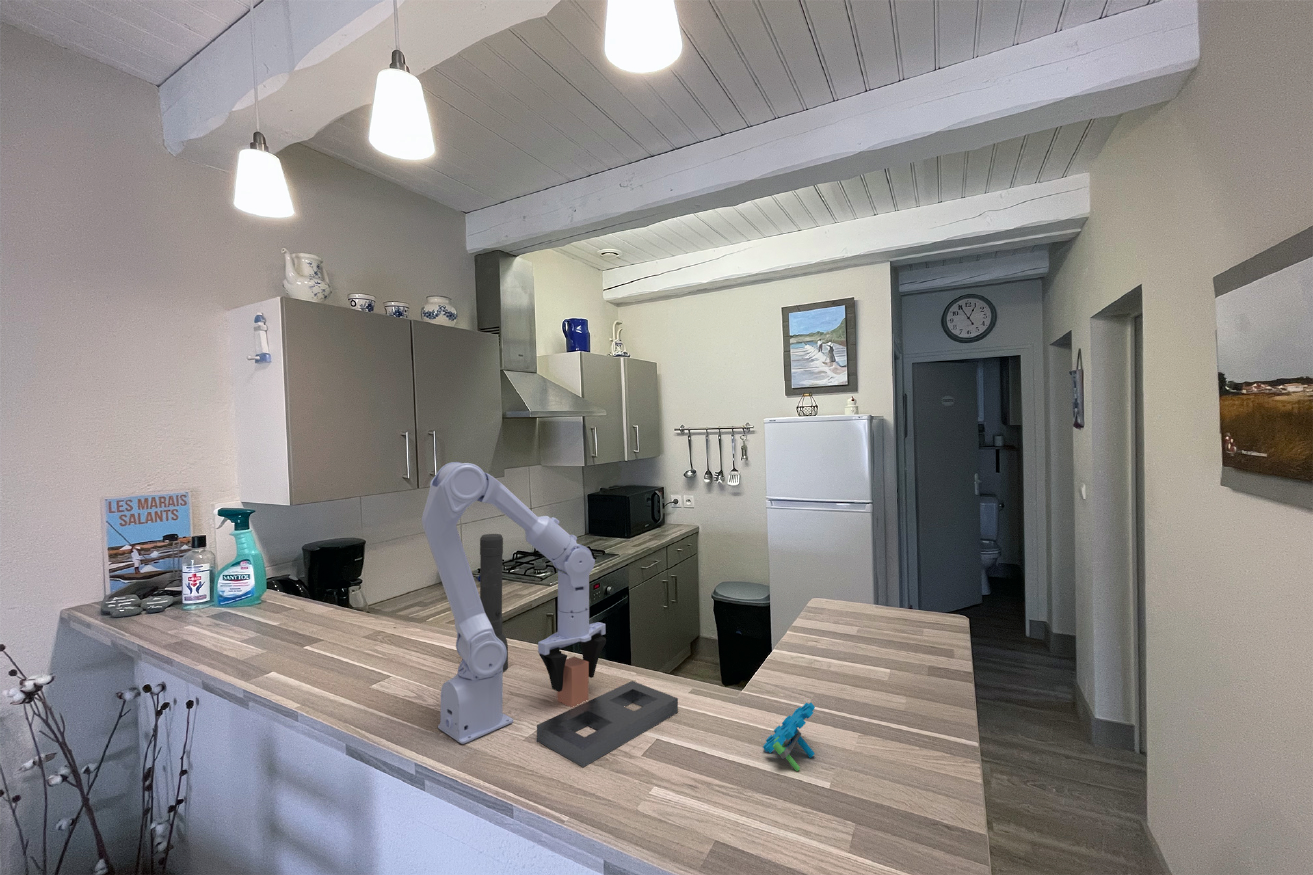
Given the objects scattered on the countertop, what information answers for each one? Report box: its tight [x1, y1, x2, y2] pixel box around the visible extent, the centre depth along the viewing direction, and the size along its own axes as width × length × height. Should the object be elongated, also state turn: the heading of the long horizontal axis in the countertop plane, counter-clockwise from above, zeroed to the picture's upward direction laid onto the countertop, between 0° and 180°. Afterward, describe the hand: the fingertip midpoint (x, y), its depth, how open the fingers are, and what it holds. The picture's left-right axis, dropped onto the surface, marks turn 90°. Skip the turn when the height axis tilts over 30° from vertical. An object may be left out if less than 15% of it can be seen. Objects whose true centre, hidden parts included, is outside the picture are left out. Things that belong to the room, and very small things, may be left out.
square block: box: [556, 656, 590, 708], centre depth 101 cm, size 4×4×7 cm
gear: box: [762, 702, 816, 772], centre depth 83 cm, size 11×6×10 cm
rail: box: [536, 680, 679, 768], centre depth 92 cm, size 22×11×2 cm, turn 139°
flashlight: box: [479, 533, 509, 673], centre depth 115 cm, size 7×28×7 cm
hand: (573, 682), depth 101 cm, fingers open, 7 cm apart
